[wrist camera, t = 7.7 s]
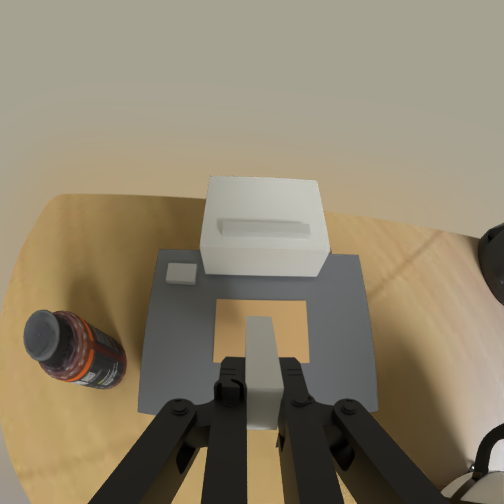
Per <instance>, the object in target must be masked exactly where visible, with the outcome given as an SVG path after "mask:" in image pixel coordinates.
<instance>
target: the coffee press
mask: <svg viewBox="0 0 504 504" xmlns="http://www.w3.org/2000/svg"><path fill="white" fill-rule="evenodd" d="M501 439H504V423H503V424H501V425H499V426H497V427H496V428H494V429H492V430H491V431H490V432H489V433H488V434H487V435H486V436H485V437H484V438H483V440H482V441H481V443H480V445H479V448H478V451H477V455H476V459H475V464H474V465H473V466H472V467H471V468H470V470H469V473H467V474H465V475H462V476H461V477H459V478H457V479H455V480H454V481H452V482H451V483H450V484H448V485H447V486H446V487H445V488H444V489H443V490H442V491H441V493H442V494H443V496H444V497H445V498H446V499H447V500H448V501H449V502H450V503H451V504H504V472H501V471H489V470H488V465H489V459H490V454H491V450H492V448H493V446H494V445H495V443H496V442H497V441H498V440H501Z"/></svg>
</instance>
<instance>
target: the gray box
mask: <svg viewBox="0 0 504 504" xmlns="http://www.w3.org/2000/svg"><path fill="white" fill-rule="evenodd" d="M246 316H266V317H271V318H272V323H273V329H274V334H275V340H276V346H277V351H278V357H295V358H296V359H297V360H298V361H299V362H300V364H301V368H302V371H303V375H304V378H305V382H306V385H307V389H308V392H309V394H310V395H311V396H313V397H314V399H315V401H317V402H319V403H322V404H327V405H334V404H335V403H336V402H337V401H339V400H341V399H346V398H349V399H354V400H356V401H358V402H360V403H361V404H362V405H363V406H364V407H365V409H366V410H367V411H368V412H369V413H370V412H375V411H378V394H377V379H376V367H375V357H374V347H373V339H372V331H371V324H370V317H369V310H368V304H367V298H366V292H365V286H364V281H363V275H362V270H361V265H360V260H359V255H346V254H332V252H331V248H330V252H329V254H328V256H327V258H326V260H325V262H324V264H323V266H322V268H321V269H320V271H319V273H318V275H317V277H307V276H256V275H222V274H206V273H205V269H204V265H203V260H202V256H201V251H200V250H175V249H159V253H158V258H157V263H156V268H155V273H154V279H153V284H152V290H151V296H150V302H149V308H148V314H147V321H146V328H145V336H144V344H143V352H142V361H141V371H140V383H139V396H138V412H140V413H145V414H151V415H157V414H158V413H159V411H160V410H161V409H162V407H163V406H164V405H165V404H166V403H167V402H168V401H170V400H172V399H176V398H183V399H187V400H189V401H191V402H192V403H193V404H194V405H199V404H205V403H208V402H210V401H212V400H213V399H214V384H215V382H216V381H218V380H219V375H220V367H221V361H222V360H223V359H224V358H225V357H226V356H230V357H245V334H246Z"/></svg>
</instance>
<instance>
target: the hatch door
mask: <svg viewBox="0 0 504 504" xmlns="http://www.w3.org/2000/svg"><path fill="white" fill-rule="evenodd" d="M200 251H201V256H202V260H203V265H204V269H205V273H206V274H222V275H256V276H307V277H317V275H318V273H319V271H320V269H321V268H322V266H323V264H324V262H325V260H326V258H327V256H328V254H329V252H330V246H329V240H328V234H327V229H326V223H325V218H324V213H323V207H322V203H321V198H320V193H319V188H318V183H317V181H313V180H312V181H311V180H300V179H283V178H265V177H237V176H236V177H235V176H210V180H209V186H208V192H207V198H206V205H205V211H204V218H203V225H202V232H201V239H200Z"/></svg>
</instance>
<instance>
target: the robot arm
mask: <svg viewBox="0 0 504 504" xmlns="http://www.w3.org/2000/svg"><path fill="white" fill-rule="evenodd" d="M478 254H479V261H480V265H481V268H482V271H483V274H484V277H485V279H486V281H487V283H488V285H489V287H490V289H491V290H492V292H493V294H494V295H495V296H496V298H497V299H498V300H499V301H500V302H501V303H502V304H503V305H504V223H502V224H500V225H498V226H496V227H494V228H492V229H490V230H488V231H487V232H486V233H485V234H484V236H483V237H482V238H481V239H480V241H479V245H478ZM277 426H278V428H279V433H278V438H277V443H276V447H279V456H280V465H281V474H282V484H283V493H284V502H285V504H344V500H343V496H342V493H341V489H340V485H339V482H338V478H337V474H336V472H337V473H338V475H339V476H340V478H341V479H342V481H343V483H344V484H345V486H346V487H347V489H348V490H349V492H350V493H351V495H352V496H353V498H354V499H355V501H356V502H357V504H451V503H450V502H449V501H448V500H447V499H446V498H445V497H444V496H443V494H442V493H441V492H440V491H439V490H438V489H437V488H436V487H435V486H434V485H433V484H432V482H431V481H430V480H429V479H428V478H427V477H426V476H425V475H424V474H423V473H422V472H421V470H420V469H419V468H418V467H417V466H416V465H415V464H414V463H413V462H412V460H411V459H410V458H409V457H408V456H407V455H406V454H405V453H404V452H403V450H402V449H401V448H400V447H399V446H398V445H397V444H396V443H395V441H394V440H393V439H392V438H391V437H390V436H389V435H388V434H387V432H386V431H385V430H384V429H383V428H382V427H381V426H380V425H379V423H378V422H377V421H376V420H375V419H374V418H373V417H372V415H371V414H370V413H369V412H368V411H367V410H366V409H365V407H364V406H363V405H362V404H361V403H360V402H358V401H356V400H354V399H349V398H346V399H341V400H339V401H337V402H336V403H335V404H334V405H327V404H322V403H319V402H317V401H315V399H314V397H313V396H311V395H310V394H309V392H308V389H307V385H306V382H305V378H304V375H303V371H302V368H301V364H300V362H299V361H298V360H297V359H296V358H295V357H278V351H277V346H276V340H275V334H274V329H273V323H272V318H271V317H266V316H246V334H245V357H230V356H226V357H225V358H224V359H223V360H222V361H221V367H220V375H219V380H218V381H216V382H215V384H214V399H213V400H212V401H210V402H208V403H205V404H199V405H194V404H193V403H192V402H191V401H189V400H187V399H183V398H176V399H172V400H170V401H168V402H167V403H166V404H165V405H164V406H163V407H162V409H161V410H160V411H159V413H158V414H157V415H156V417H155V418H154V419H153V421H152V422H151V423H150V425H149V426H148V427H147V428H146V430H145V431H144V432H143V434H142V435H141V436H140V438H139V439H138V440H137V442H136V443H135V444H134V445H133V447H132V448H131V449H130V451H129V452H128V453H127V455H126V456H125V457H124V458H123V460H122V461H121V462H120V464H119V465H118V466H117V467H116V469H115V470H114V471H113V472H112V474H111V475H110V476H109V478H108V479H107V480H106V481H105V483H104V484H103V485H102V486H101V488H100V489H99V490H98V491H97V493H96V494H95V495H94V496H93V498H92V499H91V500H90V501H89V503H88V504H171V502H172V500H173V499H174V497H175V495H176V493H177V491H178V490H179V488H180V486H181V484H182V482H183V480H184V479H185V477H186V475H187V473H188V471H189V469H190V467H191V465H192V464H193V462H194V460H195V458H196V456H197V454H198V452H199V450H200V448H202V447H208V449H207V457H206V465H205V473H204V481H203V489H202V498H201V504H247V430H277ZM335 470H336V471H335Z"/></svg>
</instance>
